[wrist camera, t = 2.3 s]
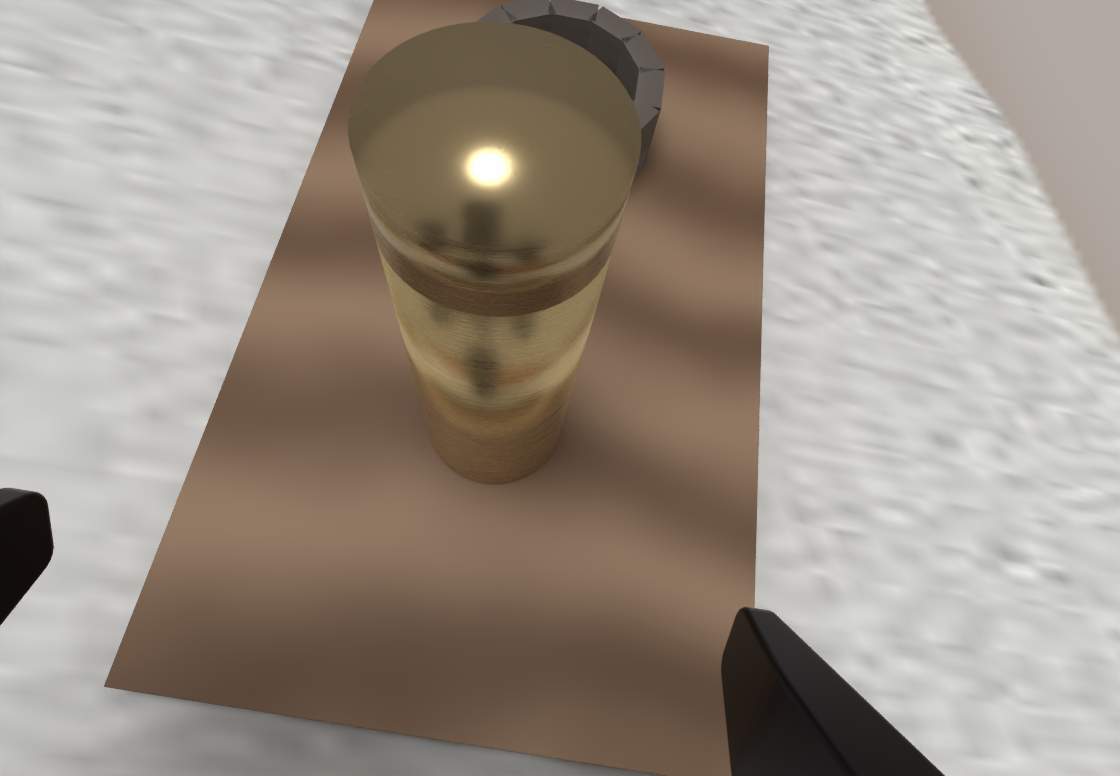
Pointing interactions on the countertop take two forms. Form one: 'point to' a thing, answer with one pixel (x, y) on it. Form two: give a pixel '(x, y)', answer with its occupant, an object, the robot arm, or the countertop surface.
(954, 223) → the countertop surface
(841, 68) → the countertop surface
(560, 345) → the brass fitting
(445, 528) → the board
